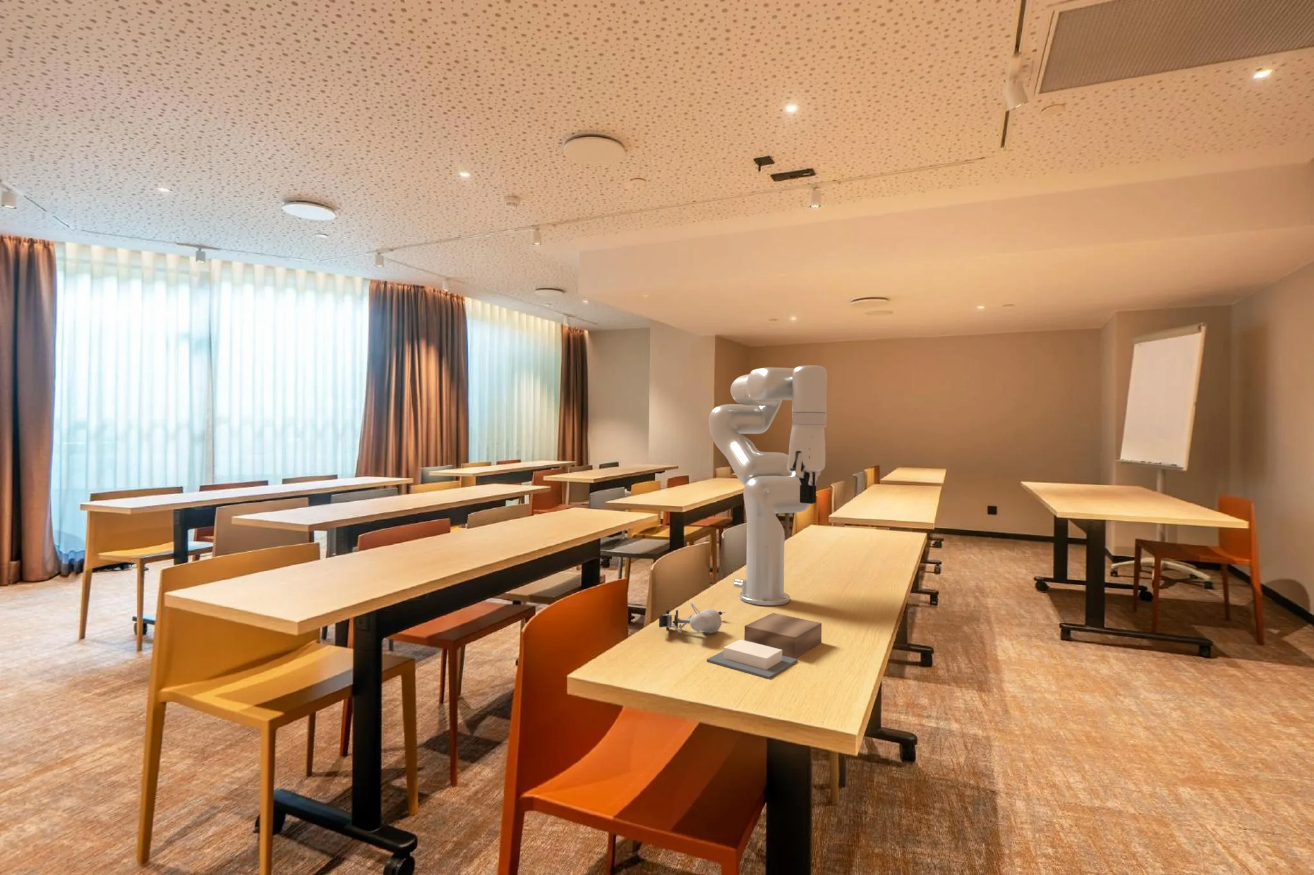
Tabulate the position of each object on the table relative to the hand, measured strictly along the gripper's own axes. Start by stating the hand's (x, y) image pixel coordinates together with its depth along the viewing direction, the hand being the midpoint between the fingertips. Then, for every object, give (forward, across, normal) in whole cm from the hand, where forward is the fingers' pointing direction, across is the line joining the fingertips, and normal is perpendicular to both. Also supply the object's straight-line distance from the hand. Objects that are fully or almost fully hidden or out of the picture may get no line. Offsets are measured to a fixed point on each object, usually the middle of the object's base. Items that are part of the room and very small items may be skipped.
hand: (807, 502), depth 140 cm
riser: (+27, +16, +2) cm, 32 cm away
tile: (+25, +28, +3) cm, 38 cm away
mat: (+27, +28, +2) cm, 39 cm away
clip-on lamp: (+28, +20, -16) cm, 38 cm away
